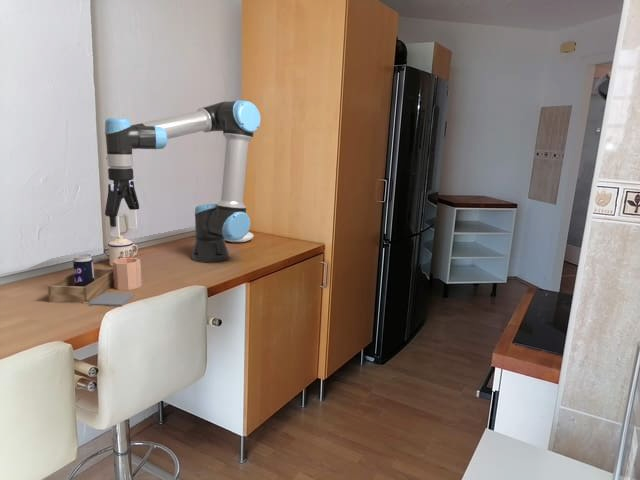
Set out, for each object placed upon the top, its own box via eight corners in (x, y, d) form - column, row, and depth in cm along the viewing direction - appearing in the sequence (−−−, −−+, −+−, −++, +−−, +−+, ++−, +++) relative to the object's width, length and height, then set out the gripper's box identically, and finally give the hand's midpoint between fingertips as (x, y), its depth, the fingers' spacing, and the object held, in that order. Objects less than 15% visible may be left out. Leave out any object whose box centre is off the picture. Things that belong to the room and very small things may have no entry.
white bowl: (254, 238, 240) (254, 224, 239) (252, 245, 225) (252, 230, 224) (224, 237, 240) (223, 224, 238) (219, 244, 224) (218, 230, 223)
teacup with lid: (119, 268, 178) (117, 239, 176) (104, 265, 183) (102, 236, 181) (145, 262, 188) (143, 234, 186) (130, 259, 193) (129, 231, 191)
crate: (117, 282, 161) (116, 269, 160) (87, 303, 141) (85, 287, 140) (84, 281, 162) (82, 268, 161) (49, 302, 141) (47, 286, 140)
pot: (144, 283, 162) (142, 258, 160) (135, 290, 154) (133, 264, 152) (121, 282, 162) (119, 257, 160) (111, 289, 154) (109, 263, 152)
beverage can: (80, 289, 154) (77, 254, 151) (97, 289, 154) (95, 254, 152) (72, 294, 148) (69, 258, 146) (91, 294, 149) (88, 258, 146)
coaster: (134, 295, 149) (134, 293, 149) (121, 306, 140) (121, 304, 139) (104, 294, 149) (103, 292, 149) (88, 305, 140) (88, 303, 140)
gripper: (125, 165, 162) (129, 225, 167) (89, 169, 138) (94, 239, 142) (146, 165, 162) (149, 225, 166) (114, 170, 138) (119, 240, 142)
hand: (124, 232), depth 154 cm, fingers open, 13 cm apart
